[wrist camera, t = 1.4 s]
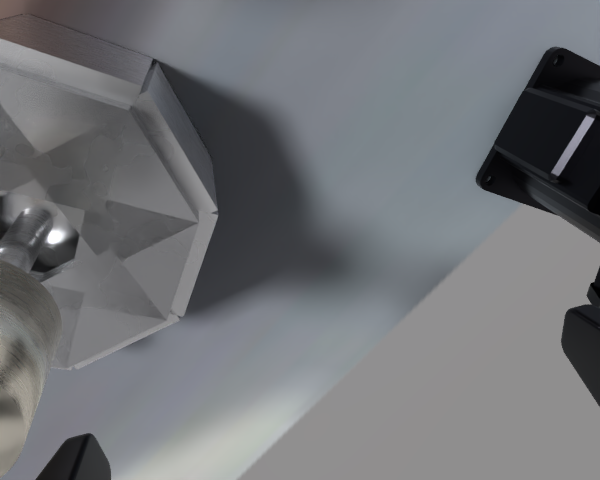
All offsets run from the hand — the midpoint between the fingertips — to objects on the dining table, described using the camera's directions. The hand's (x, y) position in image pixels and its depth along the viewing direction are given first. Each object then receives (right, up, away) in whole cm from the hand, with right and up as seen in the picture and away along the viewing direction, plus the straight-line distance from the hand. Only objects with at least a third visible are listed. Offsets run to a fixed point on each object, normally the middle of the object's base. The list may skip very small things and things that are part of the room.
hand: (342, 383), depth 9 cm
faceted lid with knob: (-10, +4, +10) cm, 15 cm away
